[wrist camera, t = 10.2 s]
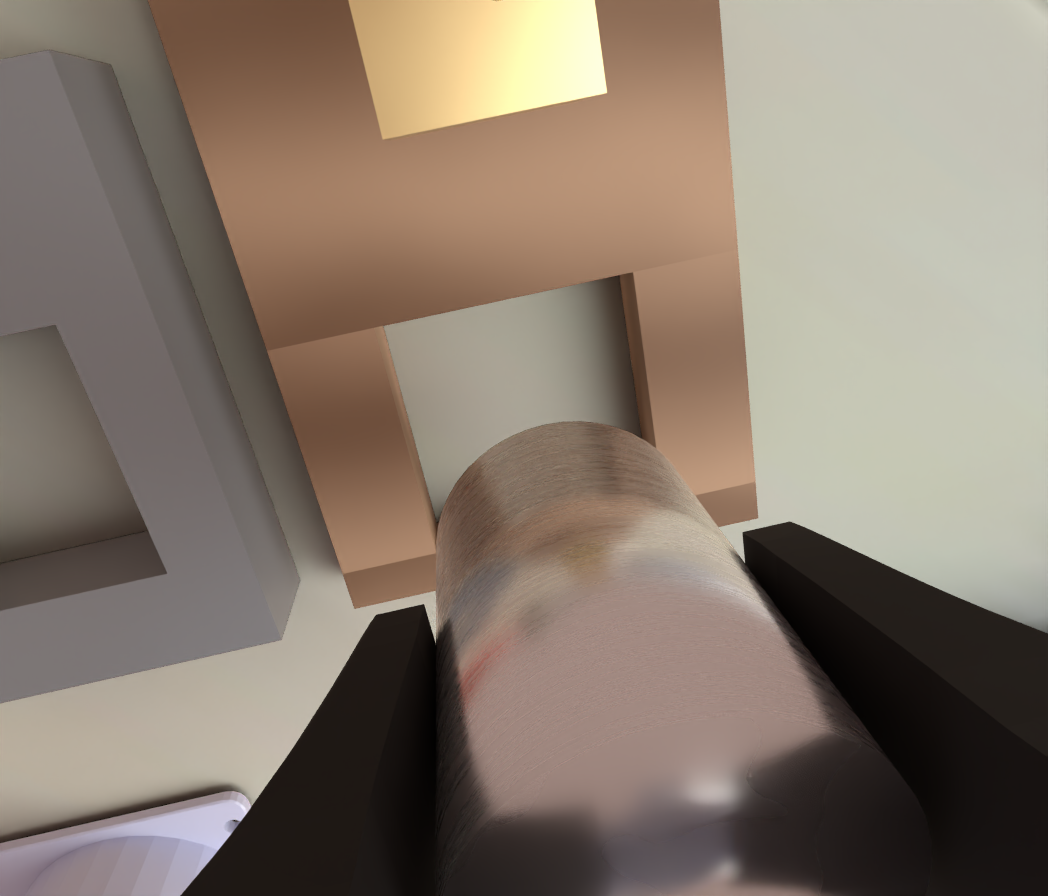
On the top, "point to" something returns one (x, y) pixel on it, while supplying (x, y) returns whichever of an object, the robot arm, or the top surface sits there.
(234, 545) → the frame
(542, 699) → the peg
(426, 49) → the bar
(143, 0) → the top surface
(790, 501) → the top surface
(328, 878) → the robot arm
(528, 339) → the top surface
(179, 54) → the socket board
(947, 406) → the top surface
